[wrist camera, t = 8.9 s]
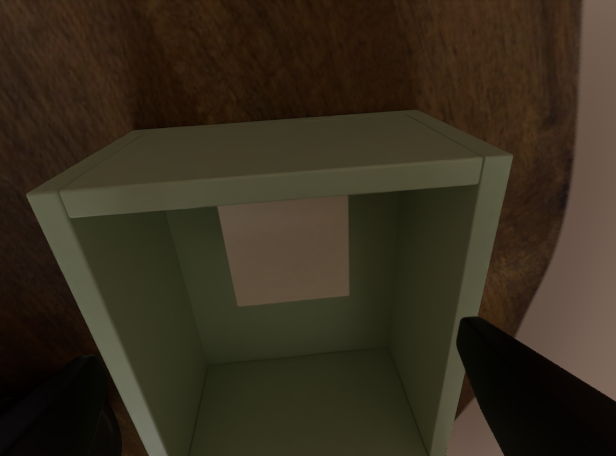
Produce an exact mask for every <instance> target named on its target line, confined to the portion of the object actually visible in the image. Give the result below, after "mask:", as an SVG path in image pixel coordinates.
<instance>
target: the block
mask: <svg viewBox="0 0 616 456" xmlns="http://www.w3.org/2000/svg"><path fill="white" fill-rule="evenodd" d="M217 209H218V214H219V219H220V224H221V229H222V234H223V238H224V243H225V248H226V253H227V258H228V263H229V268H230V272H231V277H232V282H233V287H234V292H235V297H236V302H237V306H238V307H242V306H252V305H262V304H272V303H282V302H292V301H302V300H312V299H322V298H331V297H341V296H349V294H350V293H349V200H348V195H345V196H333V197H320V198H308V199H296V200H284V201H272V202H260V203H248V204H236V205H224V206H217Z"/></svg>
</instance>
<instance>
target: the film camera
mask: <svg viewBox="0 0 616 456" xmlns="http://www.w3.org/2000/svg"><path fill="white" fill-rule="evenodd" d="M21 400H23V399H20V398H18V399H17V398H16V397H7V398H4V399H2V400H0V417H1V416H2V415H4V414H5V413H6V412H7V411H9V410H10V409H11V408H13V407H14V406H15V405H16V404H18V403H19V402H20V401H21ZM121 452H122V442H121V434H120V429H119V425H118V423H117V420H116V418H115V415H114V412H113V410H112V408H111V406H110V404H109V403H107V401H104V405H103V408H102V412H101V416H100V419H99V423H98V426H97V430H96V434H95V437H94V441H93V444H92V447H91V451H90V454H89V456H121Z"/></svg>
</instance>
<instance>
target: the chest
mask: <svg viewBox="0 0 616 456" xmlns="http://www.w3.org/2000/svg"><path fill="white" fill-rule="evenodd" d="M512 159H513V155H512V154H510V153H508V152H506V151H503V150H501V149H499V148H497V147H495V146H493V145H491V144H489V143H487V142H484V141H482V140H480V139H478V138H476V137H474V136H472V135H470V134H467V133H465V132H463V131H461V130H459V129H457V128H455V127H453V126H450V125H448V124H446V123H444V122H442V121H440V120H438V119H436V118H433V117H431V116H429V115H427V114H425V113H423V112H421V111H418V110H404V111H390V112H376V113H363V114H349V115H335V116H322V117H308V118H294V119H281V120H267V121H254V122H240V123H226V124H213V125H199V126H185V127H172V128H158V129H144V130H133V131H131V132H129V133H127V134H126V135H124V136H123V137H121V138H119V139H118V140H116V141H114V142H113V143H111V144H109V145H108V146H106V147H104V148H103V149H101V150H99V151H98V152H96V153H94V154H92V155H91V156H89V157H87V158H86V159H84V160H82V161H81V162H79V163H77V164H76V165H74V166H72V167H71V168H69V169H67V170H66V171H64V172H62V173H60V174H59V175H57V176H55V177H54V178H52V179H50V180H49V181H47V182H45V183H44V184H42V185H40V186H39V187H37V188H35V189H33V190H32V191H30V192H28V193H27V198H28V200H29V203H30V205H31V207H32V209H33V211H34V213H35V215H36V217H37V220H38V222H39V224H40V226H41V228H42V230H43V232H44V234H45V236H46V239H47V241H48V243H49V245H50V247H51V249H52V251H53V253H54V256H55V258H56V260H57V262H58V264H59V266H60V268H61V270H62V273H63V275H64V277H65V279H66V281H67V283H68V285H69V287H70V289H71V292H72V294H73V296H74V298H75V300H76V302H77V304H78V306H79V309H80V311H81V313H82V315H83V317H84V319H85V321H86V323H87V326H88V328H89V330H90V332H91V334H92V336H93V338H94V340H95V342H96V345H97V347H98V349H99V351H100V353H101V355H102V357H103V359H104V362H105V364H106V366H107V368H108V370H109V372H110V374H111V376H112V378H113V381H114V383H115V385H116V387H117V389H118V391H119V393H120V395H121V398H122V400H123V402H124V404H125V406H126V408H127V410H128V412H129V415H130V417H131V419H132V421H133V423H134V425H135V427H136V429H137V431H138V434H139V436H140V438H141V440H142V442H143V444H144V446H145V448H146V451H147V453H148V455H149V456H446V453H447V449H448V444H449V440H450V436H451V431H452V427H453V422H454V418H455V413H456V409H457V405H458V400H459V396H460V391H461V387H462V382H463V378H464V373H465V368H464V366H463V363H462V361H461V358H460V356H459V353H458V350H457V347H456V338H457V333H458V328H459V323H460V320H461V319H462V318H463V317H470V316H477V315H478V311H479V307H480V302H481V298H482V293H483V289H484V284H485V280H486V275H487V271H488V266H489V262H490V257H491V253H492V249H493V244H494V240H495V235H496V231H497V226H498V222H499V217H500V213H501V208H502V204H503V200H504V195H505V191H506V186H507V182H508V177H509V173H510V168H511V164H512ZM345 195H348V200H349V293H350V294H349V296H341V297H331V298H322V299H312V300H302V301H292V302H282V303H272V304H262V305H252V306H242V307H238V306H237V302H236V297H235V292H234V287H233V282H232V277H231V272H230V268H229V263H228V258H227V253H226V248H225V243H224V238H223V234H222V229H221V224H220V219H219V214H218V209H217V206H224V205H236V204H248V203H260V202H272V201H284V200H296V199H308V198H320V197H333V196H345Z"/></svg>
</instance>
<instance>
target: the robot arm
mask: <svg viewBox="0 0 616 456" xmlns="http://www.w3.org/2000/svg"><path fill="white" fill-rule="evenodd" d="M456 347H457V350H458V353H459V356H460V358H461V361H462V363H463V366H464V368H465V371H466V374H467V376H468V379H469V381H470V384H471V386H472V389H473V391H474V394H475V397H476V399H477V401H478V404H479V406H480V409H481V410H482V413H483V415H484V417H485V419H486V421H487V423H488V425H489V427H490V429H491V431H492V432H493V434H494V436H495V438H496V440H497V442H498V444H499V446H500V448H501V450H502V452H503V454H504V456H616V401H614V400H612V399H611V398H609V397H608V396H606V395H605V394H603V393H601V392H600V391H598V390H596V389H595V388H593V387H591V386H590V385H588V384H587V383H585V382H583V381H582V380H580V379H579V378H577V377H576V376H574V375H572V374H571V373H569V372H568V371H566V370H564V369H563V368H561V367H560V366H558V365H556V364H555V363H553V362H552V361H550V360H548V359H547V358H545V357H544V356H542V355H540V354H539V353H537V352H536V351H534V350H532V349H531V348H529V347H527V346H526V345H524V344H522V343H521V342H519V341H518V340H516V339H515V338H513V337H511V336H510V335H508V334H507V333H505V332H503V331H502V330H500V329H499V328H497V327H495V326H494V325H492V324H491V323H489V322H487V321H486V320H484V319H483V318H481V317H479V316H470V317H463V318H462V319H461V320H460V323H459V328H458V333H457V338H456ZM108 386H109V379H108V376H107V373H106V371H105V369H104V367H103V365H102V363H101V361H100V359H99V357H98V356H96V355H86V356H79V357H76V358H75V359H73V360H72V361H71V362H70V363H68V364H67V365H66V366H65V367H63V368H62V369H61V370H59V371H58V372H57V373H56V374H54V375H53V376H52V377H51V378H49V379H48V380H47V381H46V382H44V383H43V384H42V385H40V386H39V387H38V388H37V389H35V390H34V391H33V392H32V393H30V394H29V395H28V396H26V397H25V398H24V399H23V400H21V401H20V402H19V403H18V404H16V405H15V406H14V407H13V408H11V409H10V410H9V411H7V412H6V413H5V414H4V415H2V416H1V417H0V456H89V454H90V451H91V447H92V444H93V441H94V437H95V434H96V430H97V426H98V423H99V419H100V416H101V412H102V408H103V405H104V401H105V398H106V394H107V390H108Z"/></svg>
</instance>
